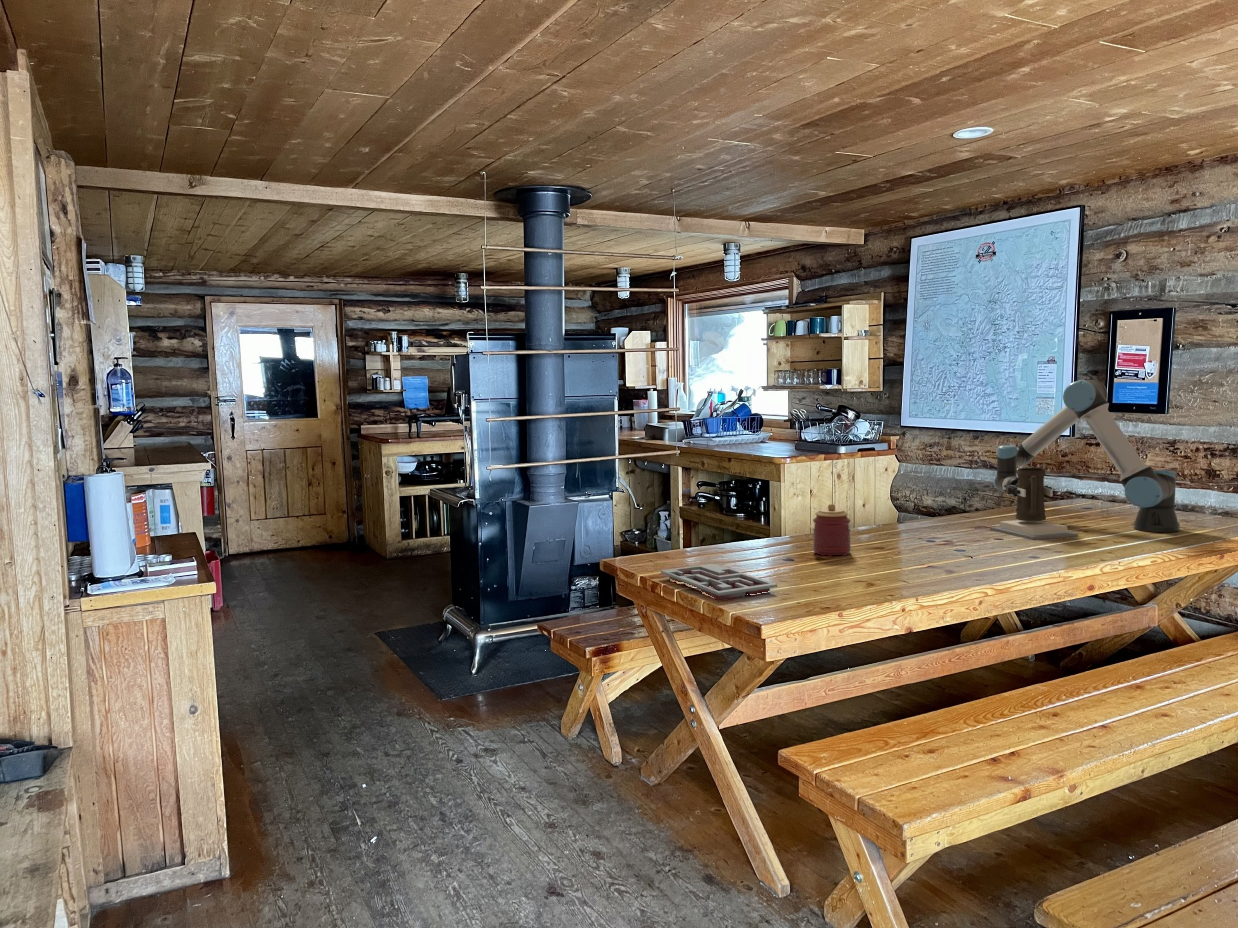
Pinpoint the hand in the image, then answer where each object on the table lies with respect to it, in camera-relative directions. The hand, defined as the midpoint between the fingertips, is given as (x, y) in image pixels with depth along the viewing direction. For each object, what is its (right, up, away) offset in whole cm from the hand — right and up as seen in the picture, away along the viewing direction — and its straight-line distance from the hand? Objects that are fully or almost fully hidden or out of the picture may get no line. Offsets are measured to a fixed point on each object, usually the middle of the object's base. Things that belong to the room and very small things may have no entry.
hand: (1038, 493), depth 336 cm
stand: (+1, -15, +6) cm, 17 cm away
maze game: (-130, -26, -68) cm, 149 cm away
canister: (-84, -21, -23) cm, 89 cm away
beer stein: (0, -11, +6) cm, 12 cm away
